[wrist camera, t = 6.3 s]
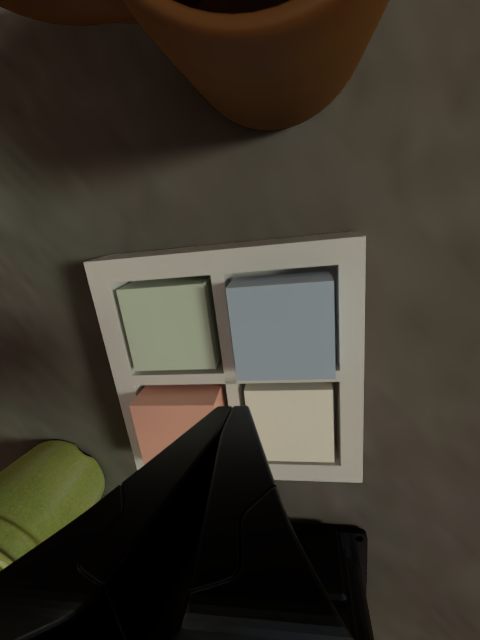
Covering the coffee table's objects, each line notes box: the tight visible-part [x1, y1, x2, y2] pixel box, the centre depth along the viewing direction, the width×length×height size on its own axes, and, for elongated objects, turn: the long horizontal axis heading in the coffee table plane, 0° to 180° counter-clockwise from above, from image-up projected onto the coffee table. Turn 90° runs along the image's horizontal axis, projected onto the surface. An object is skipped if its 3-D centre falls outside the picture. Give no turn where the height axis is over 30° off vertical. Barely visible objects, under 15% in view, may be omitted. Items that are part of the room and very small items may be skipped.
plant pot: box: [0, 440, 105, 571], centre depth 21 cm, size 9×9×9 cm
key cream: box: [244, 382, 335, 463], centre depth 18 cm, size 4×4×2 cm
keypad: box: [83, 231, 366, 483], centre depth 18 cm, size 13×13×3 cm
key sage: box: [116, 275, 222, 371], centre depth 17 cm, size 4×4×2 cm
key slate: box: [226, 271, 336, 381], centre depth 15 cm, size 4×4×2 cm
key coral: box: [129, 384, 225, 465], centre depth 18 cm, size 4×4×2 cm
